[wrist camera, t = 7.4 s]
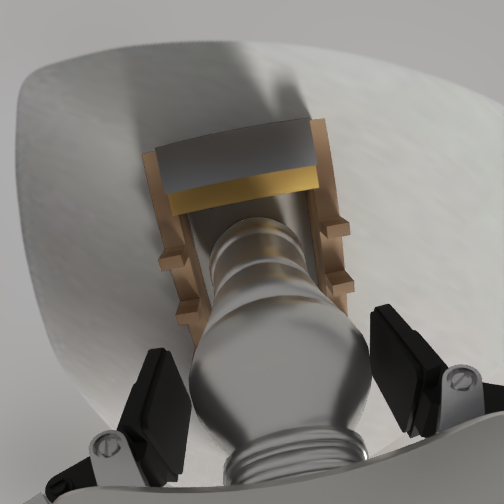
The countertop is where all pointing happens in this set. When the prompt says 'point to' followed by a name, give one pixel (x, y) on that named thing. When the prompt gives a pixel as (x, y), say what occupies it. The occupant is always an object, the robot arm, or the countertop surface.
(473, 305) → the countertop surface
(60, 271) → the countertop surface
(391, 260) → the countertop surface
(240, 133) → the wooden peg rack
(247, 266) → the grey bulging hollow cylinder
